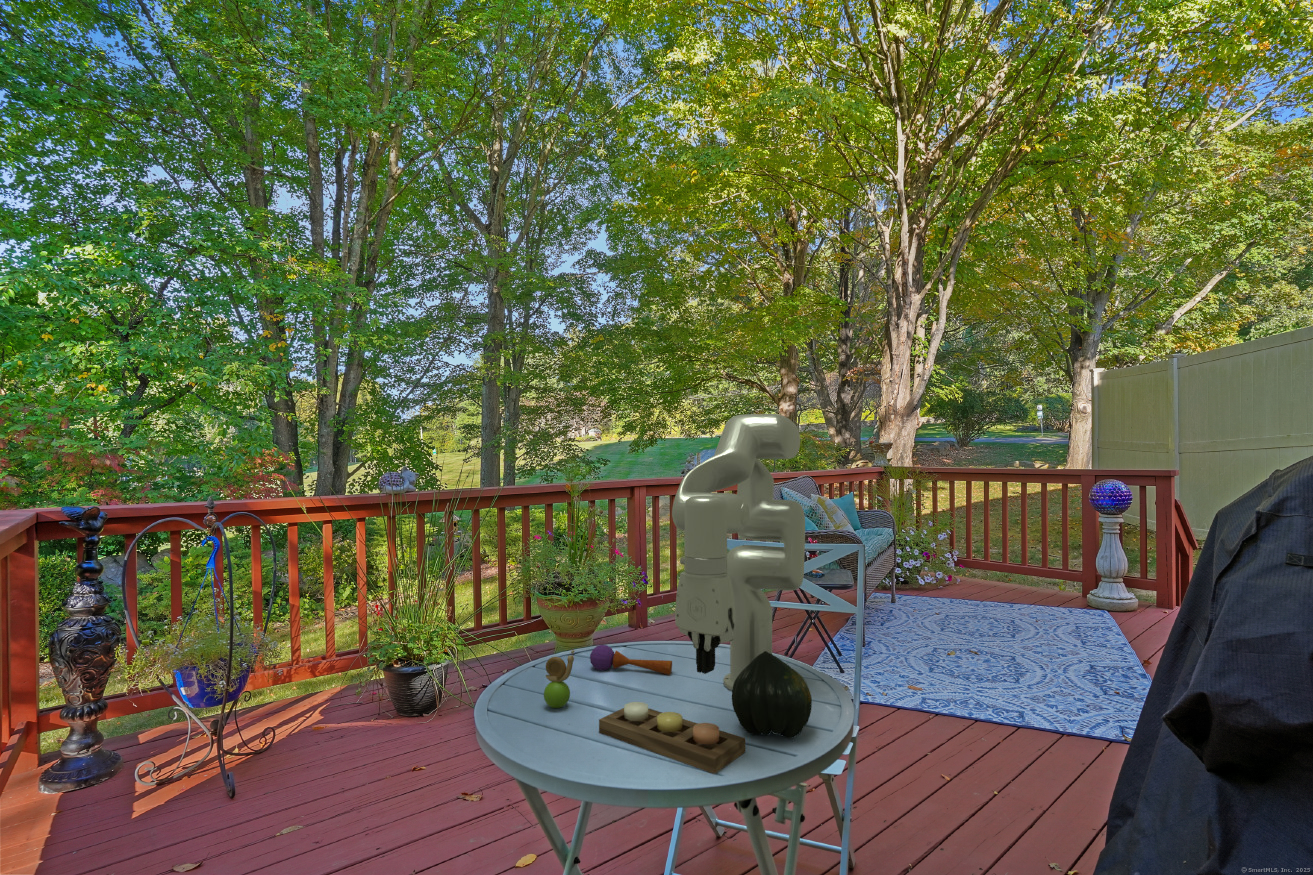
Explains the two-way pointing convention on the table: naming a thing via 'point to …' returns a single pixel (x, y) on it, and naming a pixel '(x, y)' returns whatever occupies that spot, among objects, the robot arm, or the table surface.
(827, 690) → the table surface
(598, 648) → the purple and brown maraca
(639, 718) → the cream button
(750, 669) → the squash
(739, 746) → the button panel
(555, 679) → the snail figurine
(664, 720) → the mustard button
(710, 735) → the terracotta button
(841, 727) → the table surface
